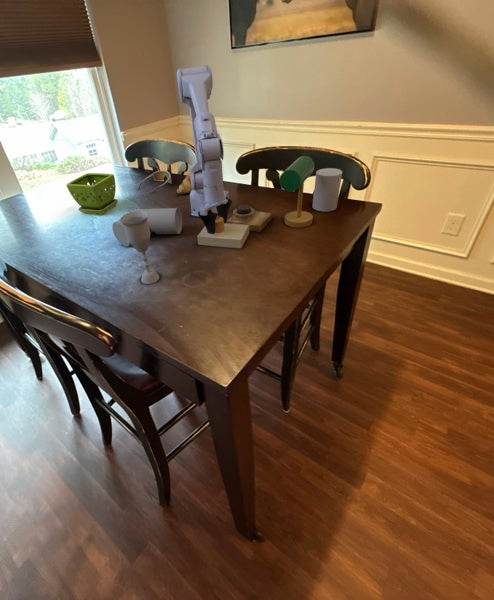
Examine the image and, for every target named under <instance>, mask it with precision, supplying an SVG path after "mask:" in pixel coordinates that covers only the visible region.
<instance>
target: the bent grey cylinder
mask: <svg viewBox="0 0 494 600" xmlns="http://www.w3.org/2000/svg"><path fill="white" fill-rule="evenodd" d="M134 211H144V212H146V213H148V218H147V222H148V226H149V230H150V235H151V234H152V233H155V234H156V235H180V234H181V232H182V229H183V217H182V212H181V210H180V208H179V207H172V208H171V207H169V208H167V207H166V208H136V209H134V208H133V209H132V212H134ZM111 228H112V233H113V235H114V237H115V239H116V240H117V242H118V243H119V244H120V245H122V246H123V247H129V246H132V244H131V243H130V241H129V240H128V239H127V235H126V232H125V228H124V225H123V224H122V222H121V221H120V219H118V220H117V221H114V222H113V223H112V226H111Z"/></svg>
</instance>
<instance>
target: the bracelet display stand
mask: <svg viewBox="0 0 494 600" xmlns="http://www.w3.org/2000/svg"><path fill="white" fill-rule="evenodd" d="M314 170H315V162H314V159H312V158H311V157H310V156H308V155H302V156H300V157H298V158H297V159H296V160H295V161H293V162H292V163H291V165H290V166H288V167H287V168H286V169H285V170H284V171H283V172H282V173H281V174H280V177H279V180H278V181H279V186H280V188H281V189H282V190H283V191H285V192H287V193H294V192H296V191H297V190H298V193H297V207H296V208H297V209H296V210H294V211H289V212H287V213H286V214H285V215H284V224H285V225H286V226H289V227H291V228H306V227H309V226H311V225H312V224H313V220H314V215H313V214H312V213H310V212H308V211H304V210H302V209H303V200H304V199H303V198H304V187H305V182H306V181H307V179H308V178H309V177H310V176H311V175H312V174H313V172H314Z"/></svg>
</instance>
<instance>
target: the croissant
mask: <svg viewBox="0 0 494 600" xmlns="http://www.w3.org/2000/svg"><path fill="white" fill-rule="evenodd" d="M191 191H192V186H191V180H190V173H188V174H187V175H186V176H185V178H184V179H183V180H182V181H181V183H180V184H179V186H178V188H177V189H176V193H177V194H178V195H185V194H190V193H191Z"/></svg>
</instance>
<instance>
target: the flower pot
mask: <svg viewBox="0 0 494 600" xmlns="http://www.w3.org/2000/svg"><path fill="white" fill-rule="evenodd" d="M115 178H116V177H115V175H114V173H102V172H101V173H100V172H99V173H98V172H87V173H84V174H83V175H81V176H79V177H76V178H74V179H73V180H71V181H69V182H68V183H67V184H66V185H65V186H66V188H67V191H68V192H69V194H70V195H71V197H72V198H73V200H74V201H75V202H76V203H77V205H79V206H80V207H79V208H78V211H79V212H81V213H83V214H91V215H92V214H93V215H104V214H105V213H107V212H108V211H109V210H111V209H112V208H113V207H116V205H117V204H118V202H119V200H118V199H117V198H115V197H116V186H117V185H116V179H115Z"/></svg>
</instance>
